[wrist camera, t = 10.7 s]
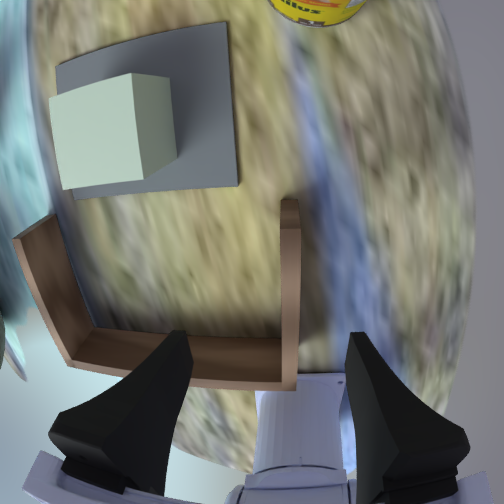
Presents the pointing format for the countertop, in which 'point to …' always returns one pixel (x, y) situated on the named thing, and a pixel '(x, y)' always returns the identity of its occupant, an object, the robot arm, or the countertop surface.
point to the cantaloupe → (2, 339)
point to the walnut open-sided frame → (143, 344)
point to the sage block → (113, 130)
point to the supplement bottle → (317, 11)
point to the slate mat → (173, 104)
